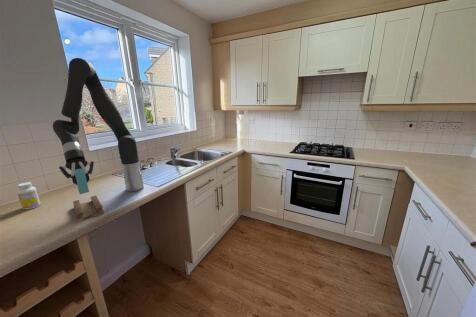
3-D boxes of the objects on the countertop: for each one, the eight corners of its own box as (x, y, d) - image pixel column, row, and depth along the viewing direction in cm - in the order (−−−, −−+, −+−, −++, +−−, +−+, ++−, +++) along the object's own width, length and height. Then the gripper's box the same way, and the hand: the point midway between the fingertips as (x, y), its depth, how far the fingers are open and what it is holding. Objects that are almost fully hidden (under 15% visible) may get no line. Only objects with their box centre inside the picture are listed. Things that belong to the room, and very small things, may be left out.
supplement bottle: (27, 204, 105) (20, 182, 102) (43, 202, 108) (36, 180, 104) (19, 211, 99) (11, 187, 96) (36, 208, 102) (29, 185, 98)
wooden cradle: (97, 201, 109) (96, 195, 108) (103, 213, 97) (102, 206, 96) (74, 207, 102) (72, 201, 101) (77, 221, 90) (76, 214, 89)
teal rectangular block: (87, 188, 100) (82, 167, 97) (89, 192, 96) (84, 170, 93) (78, 190, 98) (73, 169, 95) (79, 194, 94) (74, 172, 91)
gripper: (53, 151, 92) (61, 183, 87) (90, 146, 101) (99, 175, 96) (55, 159, 97) (63, 190, 92) (91, 154, 106) (99, 182, 101)
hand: (82, 182), depth 94 cm, fingers closed on teal rectangular block, 3 cm apart
